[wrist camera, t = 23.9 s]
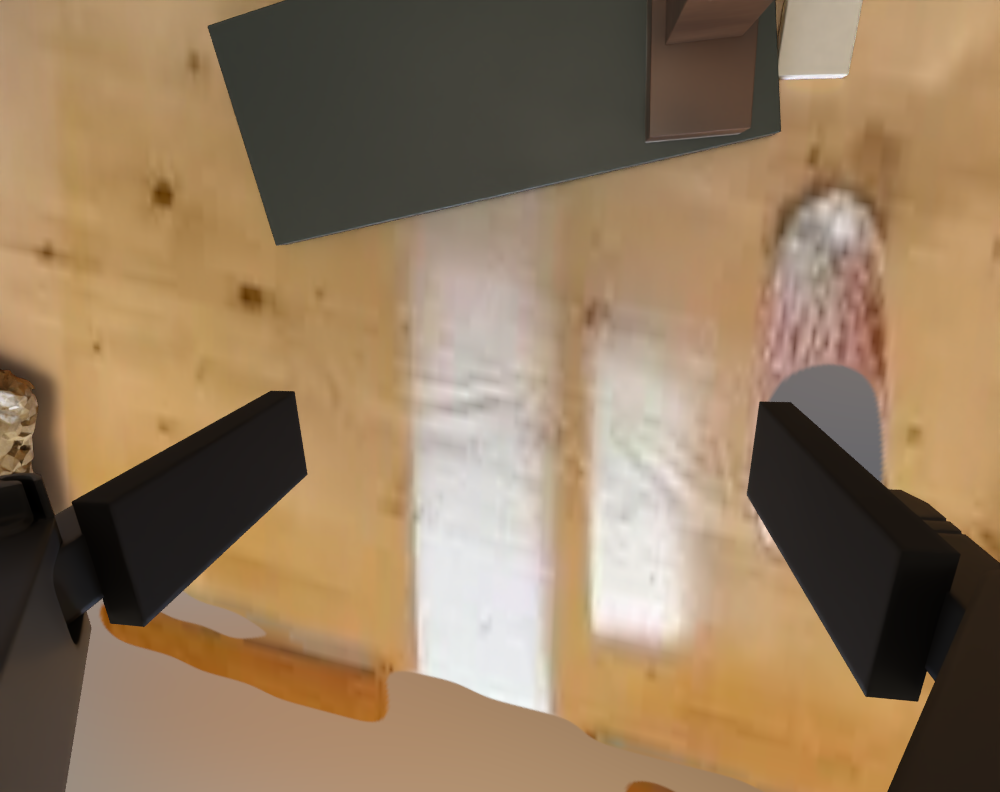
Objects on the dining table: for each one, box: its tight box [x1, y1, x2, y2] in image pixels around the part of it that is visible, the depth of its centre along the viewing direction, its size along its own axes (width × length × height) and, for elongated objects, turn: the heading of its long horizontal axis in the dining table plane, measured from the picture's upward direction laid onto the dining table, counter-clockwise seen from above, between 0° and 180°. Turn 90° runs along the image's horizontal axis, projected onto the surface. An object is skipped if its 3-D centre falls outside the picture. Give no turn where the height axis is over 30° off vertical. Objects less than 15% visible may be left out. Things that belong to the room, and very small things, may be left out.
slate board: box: [208, 0, 781, 246], centre depth 34 cm, size 14×34×2 cm, turn 102°
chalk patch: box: [777, 0, 863, 79], centre depth 31 cm, size 4×4×1 cm
